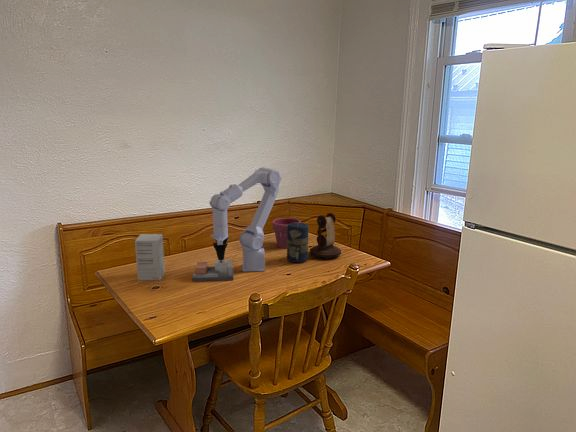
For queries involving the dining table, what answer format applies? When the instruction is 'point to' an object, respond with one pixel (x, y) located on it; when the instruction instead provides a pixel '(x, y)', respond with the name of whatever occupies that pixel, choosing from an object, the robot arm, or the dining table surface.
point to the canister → (297, 242)
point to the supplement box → (149, 256)
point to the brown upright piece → (326, 238)
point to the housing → (221, 267)
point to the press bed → (212, 276)
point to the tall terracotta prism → (201, 268)
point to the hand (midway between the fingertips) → (221, 256)
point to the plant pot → (282, 230)
